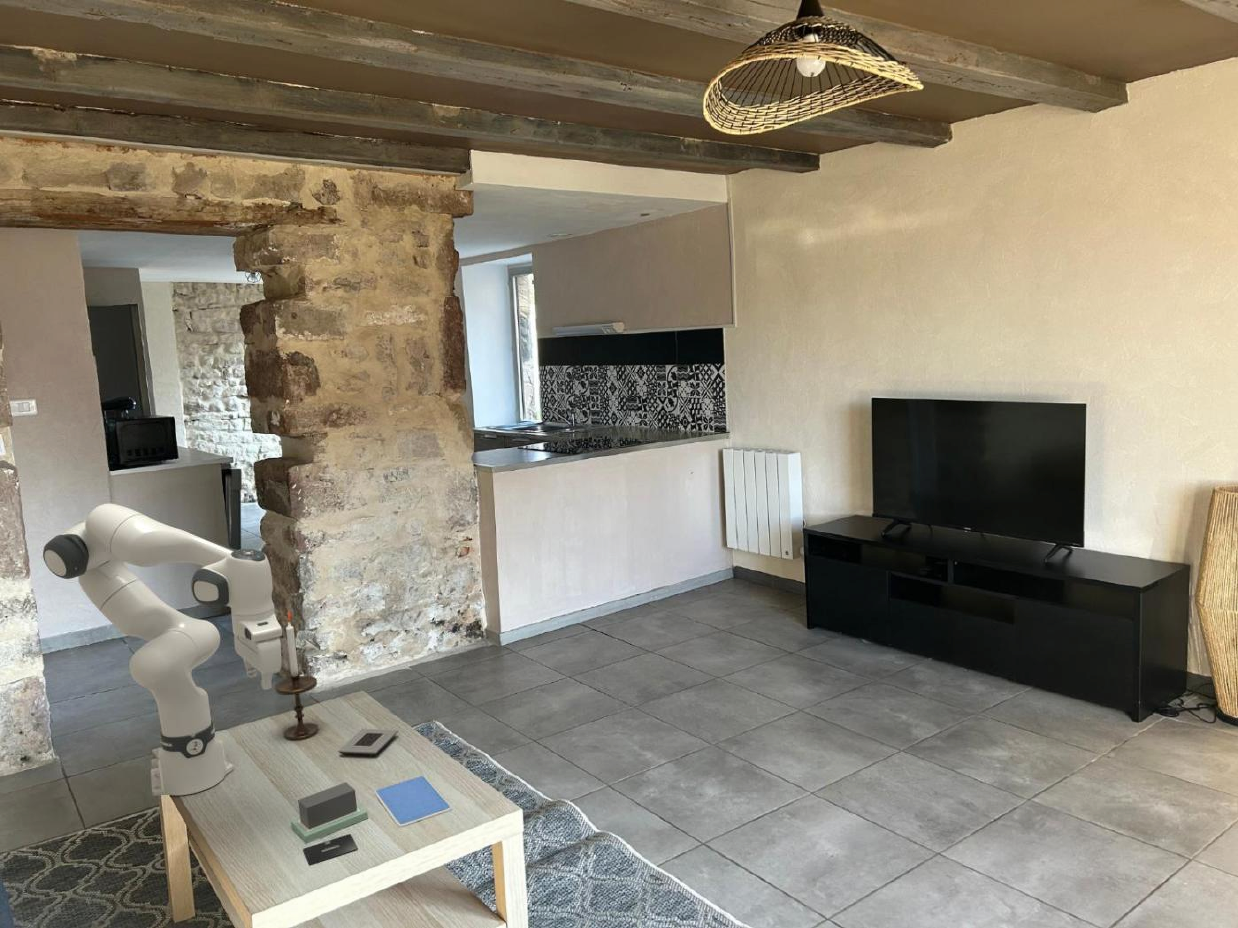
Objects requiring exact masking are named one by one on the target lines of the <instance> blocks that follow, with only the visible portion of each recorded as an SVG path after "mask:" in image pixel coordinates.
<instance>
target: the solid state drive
mask: <svg viewBox="0 0 1238 928" xmlns="http://www.w3.org/2000/svg"><path fill="white" fill-rule="evenodd" d="M358 850H359V848H358V845H357V844H356V842H355V839H354V838H353V836H352V835H351V833H349V834H345V835H342V836H339V837H336V838H332V839H329V840H326V841H323V842H320V843H317V844H314V845H311V846H307V847H305V848H302V852H303V854H304V856H305V859H306V861H307V864H308V866H313V865H316V864H320V863H323V862H325V861H326V862H327V861H330V860H332V859H335V858H337V857H341V856H344V855H347V854H350V853H355V852H357V851H358Z"/></svg>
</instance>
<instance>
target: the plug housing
mask: <svg viewBox="0 0 1238 928" xmlns="http://www.w3.org/2000/svg"><path fill="white" fill-rule="evenodd" d="M356 802H357V796H356V789H355V788H354V787H353V786H351V785H350V784H349V783H348V782H343V783H340V784H337V785H334V786H332V787H330V788H326V789H324V790H320V791H318V792H316V793H313V794H309V795H307V796H305V797H302V798H300V799H298V800H297V803H298V809H299V817H300V821H301V822H302V823H303V824H304V825H305V826H306V827H307V828H308V829H309V830H310V829H312V828H315V827H317V826H320V825H322V824H325V823H327V822H330V821H333V820H335V819H338V818H340V817H343V816H345V815H348V814H350V813H353V812H355V811H357V804H356Z"/></svg>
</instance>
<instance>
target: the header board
mask: <svg viewBox="0 0 1238 928" xmlns="http://www.w3.org/2000/svg"><path fill="white" fill-rule="evenodd" d="M356 804H357V811H355V812H353V813H350V814H348V815H345V816H343V817H340V818H338V819H335V820H333V821H330V822H327V823H325V824H322V825H320V826H317V827H315V828H312V829H310V830H309V829H308V828H307V827H306V826H305V825H304V824H303V823H302V822H301V821H300V816H299V817H297V818H294V819H291V820H290V827H291V829H292V830H294V831H295V832H296V833H297V835H298V836H299V837H300V838H301V839H302V840H303V841H304V842H305V843H306V844H308V843H310V842H313V841H315V840H317V839H320V838H322V837H325V836H327V835H329V834H331V833H334V832H335V833H336V832H338V831H340V830H343V829H345V828H348V827H349V826H352V825H354V824H357V823H359V822H362V821H364V820H367V819H368V818H369V816H368V815H369V814H368V811H367V810H366V809H365V808H363V807H362V806H361V805H360V804H359V803H358V802H357V801H356Z"/></svg>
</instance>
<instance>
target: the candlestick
mask: <svg viewBox="0 0 1238 928" xmlns="http://www.w3.org/2000/svg"><path fill="white" fill-rule="evenodd" d="M286 614H287V626H286V627H285V631H286V640H287V641H286V642H287V649H288V657H289V666H290V673H289V674H287V675H286V676H287V677H288V678H285V679H284V680H281V681H279V682H277V683H276V684H275V686H274V691H275V693H276V694H278V695H282V696H291V695H293V696H294V700H295V701H294V702H295V705H294V706H293V707H292V708H293V710H294V712H295V715H294V719H296V720H297V724H295V725H292V726H290V727H288V728H287V729H286V730H284V732H283V737H284V739H285V740H286V741H295V742H296V741H303V740H307V739H310V738H312V737H314V736H316V735H317V734H318V733H319V731H320V730H319V725H317V724H316V723H313V722H311V723H310V722H307V723H304V720H303V719H304V717H305V713H303V711H304V708H305V705H304V704H302V703H301V702H302V701H301V695H300V694H302V693H306V692H309V691H311V690H313V689H314V688H315V687H317V685H318V680H317V678H316V677H314V676H310V675H303V674H304V673H303V672H301V671H299V667H298V666H299V665H298V658H297V657H298V656H297V650H296V649H297V646H296V639H295V631H294V626H292V624H291V613H290V611H288V612H287V613H286Z"/></svg>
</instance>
